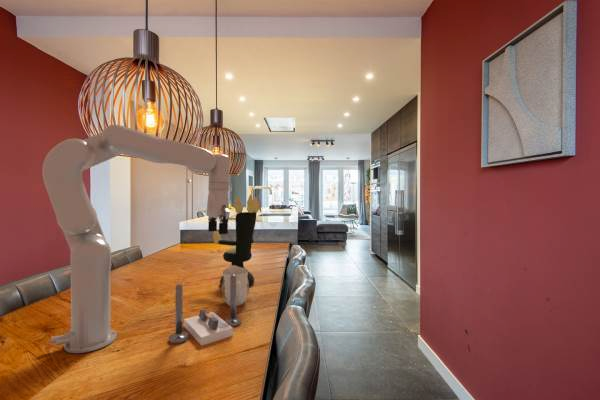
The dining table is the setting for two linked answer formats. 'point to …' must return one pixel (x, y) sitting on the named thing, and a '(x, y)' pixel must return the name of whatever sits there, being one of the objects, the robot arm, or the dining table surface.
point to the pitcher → (241, 284)
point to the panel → (207, 329)
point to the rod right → (233, 304)
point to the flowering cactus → (241, 236)
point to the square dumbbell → (212, 320)
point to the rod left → (178, 318)
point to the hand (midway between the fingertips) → (217, 232)
